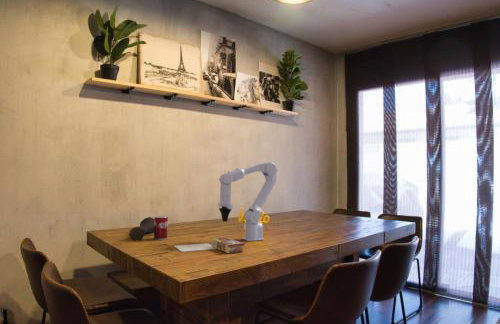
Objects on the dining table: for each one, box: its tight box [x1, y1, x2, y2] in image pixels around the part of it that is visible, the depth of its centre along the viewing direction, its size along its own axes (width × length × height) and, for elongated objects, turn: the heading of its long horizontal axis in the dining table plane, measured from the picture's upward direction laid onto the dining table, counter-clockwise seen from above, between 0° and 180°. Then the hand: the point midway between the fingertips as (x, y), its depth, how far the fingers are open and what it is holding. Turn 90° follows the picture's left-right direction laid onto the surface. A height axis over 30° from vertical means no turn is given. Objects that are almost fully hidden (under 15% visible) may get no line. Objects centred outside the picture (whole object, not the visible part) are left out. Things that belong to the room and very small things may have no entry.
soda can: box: [153, 215, 169, 241], centre depth 183 cm, size 7×7×12 cm
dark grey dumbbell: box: [129, 216, 154, 241], centre depth 191 cm, size 11×10×28 cm
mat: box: [174, 242, 217, 253], centre depth 163 cm, size 17×13×1 cm
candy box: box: [211, 237, 245, 254], centre depth 160 cm, size 9×4×15 cm
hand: (224, 221), depth 181 cm, fingers closed
